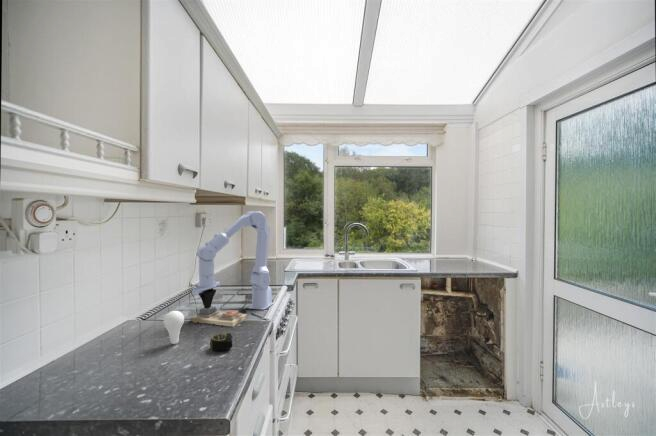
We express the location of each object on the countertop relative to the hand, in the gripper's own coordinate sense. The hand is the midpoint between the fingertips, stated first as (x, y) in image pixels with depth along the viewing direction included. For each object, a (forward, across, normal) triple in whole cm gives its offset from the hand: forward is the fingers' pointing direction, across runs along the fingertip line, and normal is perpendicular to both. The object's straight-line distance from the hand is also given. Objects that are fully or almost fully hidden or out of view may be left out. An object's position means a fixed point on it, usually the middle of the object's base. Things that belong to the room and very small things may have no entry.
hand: (207, 307), depth 124 cm
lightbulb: (+5, +23, +6) cm, 24 cm away
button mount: (+4, 0, +6) cm, 7 cm away
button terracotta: (+3, 0, +11) cm, 11 cm away
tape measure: (+5, +20, +23) cm, 31 cm away
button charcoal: (+2, 0, 0) cm, 2 cm away
